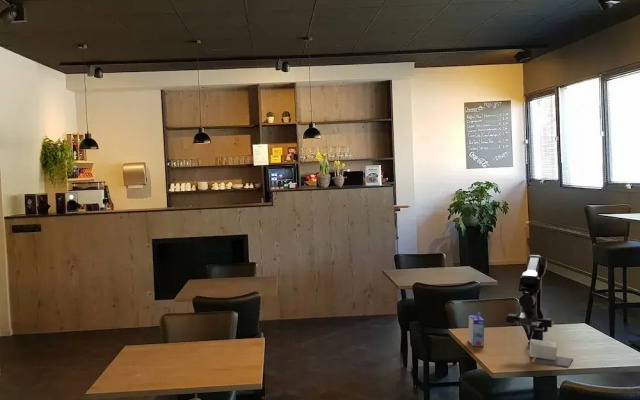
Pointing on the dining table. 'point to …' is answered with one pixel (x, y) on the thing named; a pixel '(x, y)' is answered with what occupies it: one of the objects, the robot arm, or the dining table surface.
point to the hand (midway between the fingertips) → (529, 340)
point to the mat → (559, 361)
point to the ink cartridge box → (476, 330)
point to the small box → (543, 349)
